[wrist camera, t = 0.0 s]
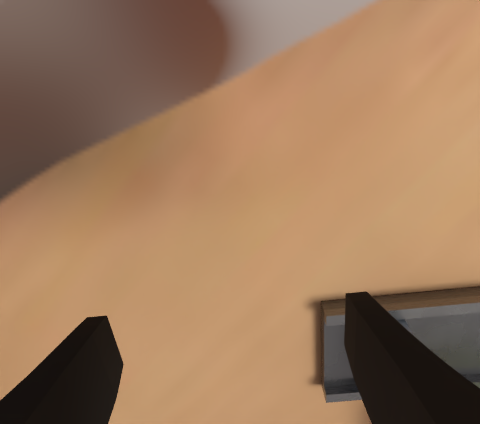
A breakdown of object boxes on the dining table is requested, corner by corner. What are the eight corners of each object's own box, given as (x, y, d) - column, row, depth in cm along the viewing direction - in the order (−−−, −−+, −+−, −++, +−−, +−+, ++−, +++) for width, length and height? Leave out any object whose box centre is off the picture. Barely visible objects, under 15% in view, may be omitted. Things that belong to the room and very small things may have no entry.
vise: (553, 365, 26) (596, 408, 23) (321, 385, 27) (333, 430, 24) (589, 276, 23) (644, 313, 20) (321, 301, 23) (334, 341, 20)
